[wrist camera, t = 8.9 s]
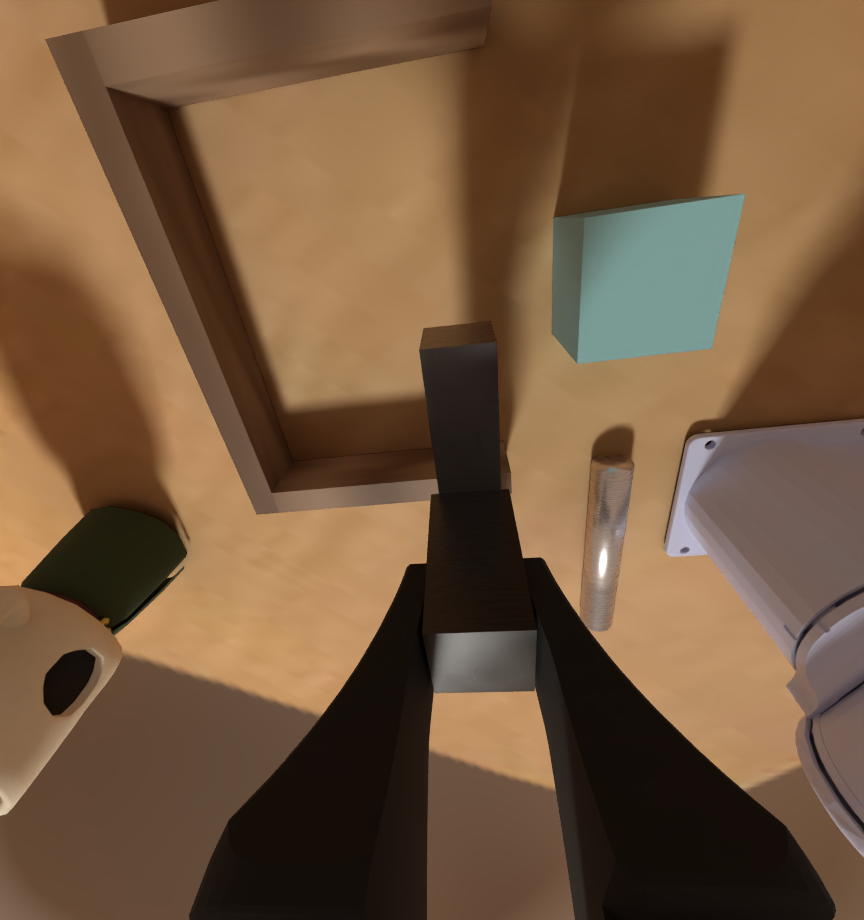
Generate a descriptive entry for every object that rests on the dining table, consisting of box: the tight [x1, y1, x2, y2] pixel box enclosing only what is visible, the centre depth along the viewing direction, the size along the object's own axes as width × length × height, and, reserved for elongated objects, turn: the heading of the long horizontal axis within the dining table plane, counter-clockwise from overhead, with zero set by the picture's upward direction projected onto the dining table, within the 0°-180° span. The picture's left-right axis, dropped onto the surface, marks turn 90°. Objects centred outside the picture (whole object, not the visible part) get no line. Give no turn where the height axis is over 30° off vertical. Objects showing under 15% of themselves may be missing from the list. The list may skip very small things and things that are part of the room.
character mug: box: [0, 507, 187, 815], centre depth 20 cm, size 11×7×13 cm, turn 155°
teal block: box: [552, 194, 745, 364], centre depth 15 cm, size 4×4×4 cm
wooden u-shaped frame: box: [45, 0, 512, 514], centre depth 17 cm, size 13×17×3 cm
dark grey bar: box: [419, 321, 537, 693], centre depth 12 cm, size 2×12×7 cm, turn 7°
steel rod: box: [580, 455, 634, 632], centre depth 24 cm, size 12×2×2 cm, turn 8°
